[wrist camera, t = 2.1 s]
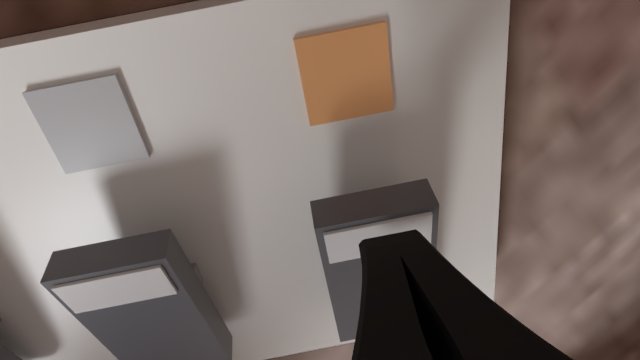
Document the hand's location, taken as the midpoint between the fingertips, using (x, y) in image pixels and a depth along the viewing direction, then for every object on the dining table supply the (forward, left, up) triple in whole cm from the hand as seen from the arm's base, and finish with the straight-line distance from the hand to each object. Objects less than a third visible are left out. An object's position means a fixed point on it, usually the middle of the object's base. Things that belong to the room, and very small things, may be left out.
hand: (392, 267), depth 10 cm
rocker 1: (-2, +7, -2) cm, 8 cm away
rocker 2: (-2, 0, -2) cm, 3 cm away
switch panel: (-1, +7, -6) cm, 9 cm away
